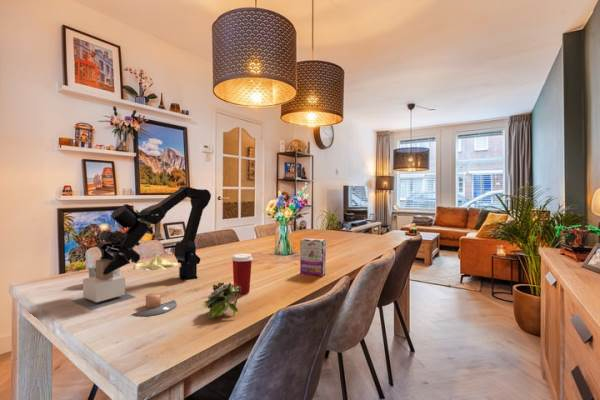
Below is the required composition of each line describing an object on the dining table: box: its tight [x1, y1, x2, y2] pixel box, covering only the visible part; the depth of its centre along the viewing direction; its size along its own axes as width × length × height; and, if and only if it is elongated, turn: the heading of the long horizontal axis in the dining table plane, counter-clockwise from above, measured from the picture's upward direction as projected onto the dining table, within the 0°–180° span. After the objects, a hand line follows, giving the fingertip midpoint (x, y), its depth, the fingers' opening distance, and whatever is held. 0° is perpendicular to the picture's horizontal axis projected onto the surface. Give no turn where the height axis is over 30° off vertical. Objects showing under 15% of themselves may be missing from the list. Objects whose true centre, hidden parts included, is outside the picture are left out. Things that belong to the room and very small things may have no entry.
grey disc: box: [131, 292, 178, 317], centre depth 98 cm, size 14×14×4 cm
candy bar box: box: [299, 237, 327, 277], centre depth 141 cm, size 11×5×16 cm, turn 69°
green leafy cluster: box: [204, 282, 242, 320], centre depth 94 cm, size 11×11×12 cm
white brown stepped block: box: [82, 259, 126, 302], centre depth 102 cm, size 9×9×12 cm
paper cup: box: [231, 253, 253, 296], centre depth 113 cm, size 8×8×14 cm
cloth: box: [133, 254, 179, 272], centre depth 149 cm, size 22×19×6 cm
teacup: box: [87, 263, 121, 278], centre depth 122 cm, size 14×11×8 cm
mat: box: [71, 292, 136, 311], centre depth 103 cm, size 14×14×1 cm
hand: (99, 272), depth 101 cm, fingers closed on white brown stepped block, 5 cm apart
